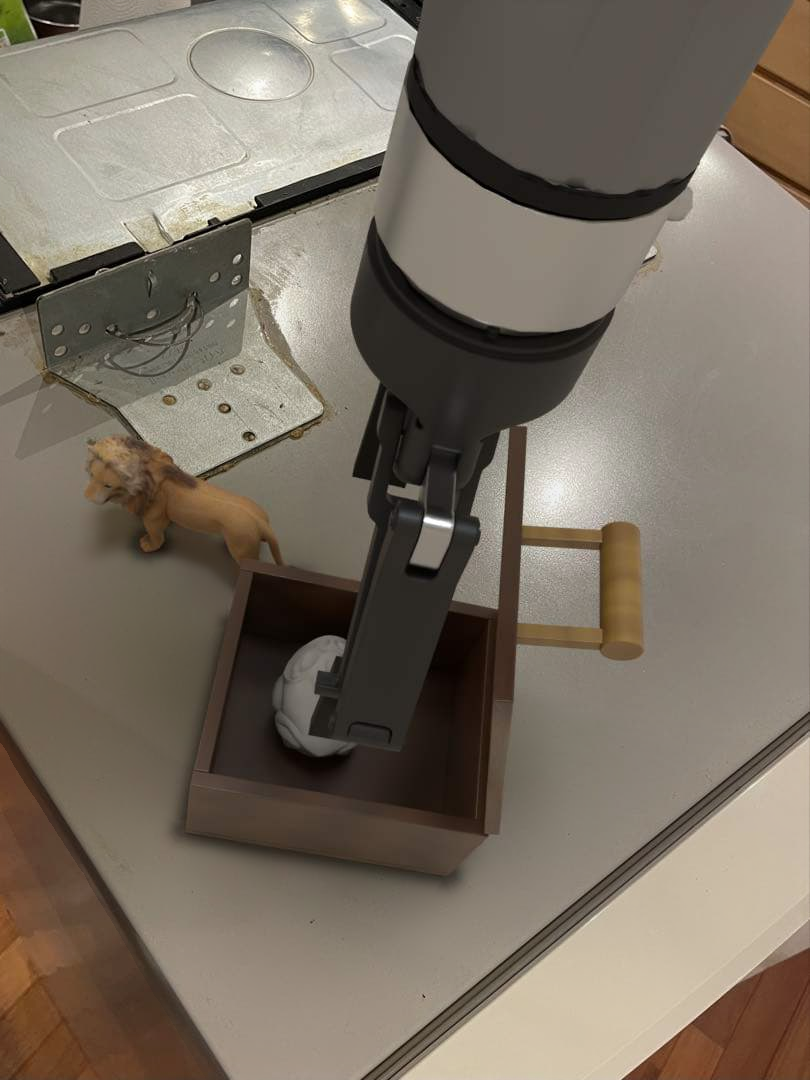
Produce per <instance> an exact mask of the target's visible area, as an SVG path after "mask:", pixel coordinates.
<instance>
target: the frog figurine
mask: <svg viewBox="0 0 810 1080" xmlns="http://www.w3.org/2000/svg"><path fill="white" fill-rule="evenodd" d="M345 645H346V640H345V639H343V638H341V637H338V636H332V635H328V636H322V637H319V638H317V639H315V640H313V641H311V642H309V643H308V644H306V645H305V646H303V647H302V648H300V649H299V650H298V651H297V652H296V653H295V654H294V655H293V657H292V658H291V659H290V660H289V662H288V664H287V666H286V668H285V670H284V673H283V674H282V675H281V676H280V677H279V678H278V680H277V681H276V683H275V685H274V688H273V692H272V703H271V704H272V707H273V709H274V710H275V711H276V712H277V713H276V714H275V725H276V728H277V730H278V732H279V734H280V735H281V737H282V740H283V743H284V744H285V746H287V747H288V748H292V749H295V750H296V751H298V752H300V753H302V754H304V755H307V756H310V757H329V756H332V755H335V754H338V755H347V754H348V753H349V752H350V751H351V749H353V748H354V747H356V746H358V744H353V743H348V742H342V741H337V740H332V739H326V738H321V737H316V736H310V735H308V733H309V727H310V721H311V717H312V715H313V712H314V710H315V707H316V705H317V702H318V700H319V697H320V695H316V694H314V688H315V682H316V677H317V672H318V670H320V671H325V672H330V670H331V667H332V665H333V662H334V660H335V657H336V656H341V657H343V653H344V649H345Z"/></svg>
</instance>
